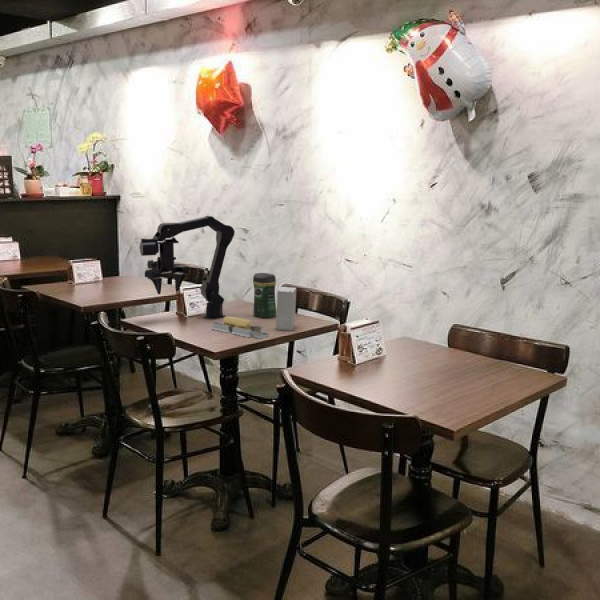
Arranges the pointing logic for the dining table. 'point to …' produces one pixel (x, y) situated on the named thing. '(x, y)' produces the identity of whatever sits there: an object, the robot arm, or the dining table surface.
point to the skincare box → (286, 308)
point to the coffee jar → (264, 295)
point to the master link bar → (237, 322)
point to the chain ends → (241, 330)
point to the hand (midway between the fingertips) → (168, 292)
